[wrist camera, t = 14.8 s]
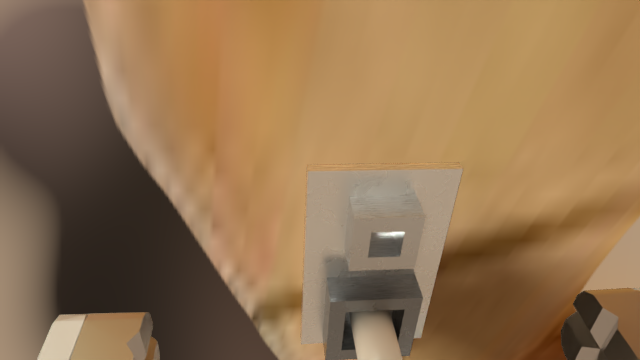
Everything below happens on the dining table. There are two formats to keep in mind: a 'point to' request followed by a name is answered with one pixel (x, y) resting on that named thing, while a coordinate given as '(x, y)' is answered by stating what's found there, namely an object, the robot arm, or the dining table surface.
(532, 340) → the dining table surface
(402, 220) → the fitting board
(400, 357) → the white rounded cylinder
